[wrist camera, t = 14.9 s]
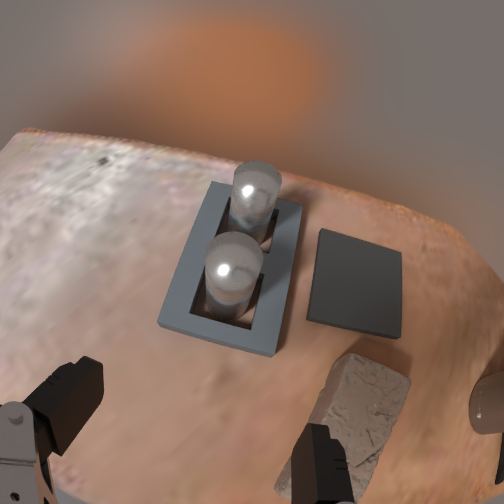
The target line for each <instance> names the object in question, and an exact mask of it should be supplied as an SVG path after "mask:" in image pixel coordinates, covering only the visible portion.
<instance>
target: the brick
mask: <svg viewBox="0 0 504 504" xmlns="http://www.w3.org/2000/svg"><path fill="white" fill-rule="evenodd" d="M410 385H411V380H410V379H409V378H408V377H406V376H404V375H401V374H400V373H399V372H397V371H395V370H393V369H391V368H389V367H387V366H384V365H382V364H380V363H377V362H374V361H372V360H370V359H367V358H365V357H363V356H360V355H357V354H355V353H348V354H346V355H344V356H342V357H340V358H339V359H338V360H336V361H335V362H334V365H333V366H332V367H331V370H330V372H329V375H328V377H327V379H326V384H325V388H324V389H323V390H321V392H320V394H319V397H318V400H317V402H316V405H315V407H314V409H313V411H312V413H311V415H310V417H309V420H308V423H314V424H322V425H328V427H329V431H330V437H331V439H338V440H339V442H340V443H341V445H342V446H343V447H344V449H345V453H346V458H347V460H346V462H347V463H348V470H349V474H350V479H351V484H352V490H353V495H354V500H355V503H356V504H357V503H358V501H359V500H360V499H361V497H362V495H363V494H364V492H365V490H366V488H367V486H368V484H369V482H370V480H371V478H372V475H373V472H374V469H375V467H376V465H377V463H378V459H379V455H381V453H382V451H383V448H384V445H385V443H386V442H387V440H388V439H389V437H390V433H391V432H392V427H393V425H394V424H395V423H396V421H397V417H398V415H399V414H400V412H401V409H402V407H403V405H404V402H405V399H406V396H407V394H408V390H409V388H410ZM308 423H307V424H308ZM307 424H306V425H307ZM291 456H292V455H291ZM274 490H276V493H278V494H279V496H281V497H283V498H285V499H289V500H291V457H290V458H289V460H288V462H287V463H286V465H285V466H284V468H283V469H282V471H281V474H280V476H279V478H278V479H277V481H276V484H275V486H274Z"/></svg>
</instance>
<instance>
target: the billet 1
mask: <svg viewBox="0 0 504 504" xmlns="http://www.w3.org/2000/svg"><path fill="white" fill-rule="evenodd" d="M281 183H282V179H281V175H280V173H279V172H278V171H277V169H276V168H274V167H273V166H272V165H269V164H268V163H265V162H262V161H249V162H245V163H243V164H241V165H239V166H238V167H237V169H236V170H235V172H234V179H233V187H232V195H231V204H230V213H229V222H228V231H227V232H241V233H244V234H247V235H249V236H250V237H252V238H253V239H254V240H255V241H256V242H257V243H258V244H259V245H260V244H261V243H262V242H263V240H264V238H265V234H266V231H267V228H268V225H269V222H270V218H271V215H272V212H273V209H274V206H275V203H276V199H277V196H278V193H279V190H280V187H281Z"/></svg>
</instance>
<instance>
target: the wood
mask: <svg viewBox="0 0 504 504" xmlns="http://www.w3.org/2000/svg"><path fill="white" fill-rule="evenodd" d="M503 480H504V433H503V440H502V447H501V453H500V460H499V467H498V471H497V475H496V480H495V484H496V485H497V484H500V483H501V482H503Z"/></svg>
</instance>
